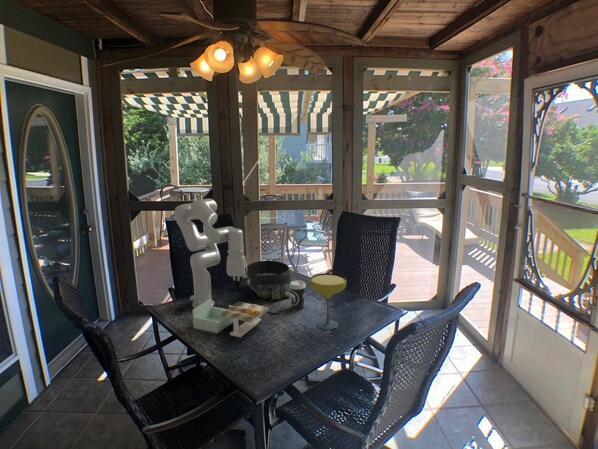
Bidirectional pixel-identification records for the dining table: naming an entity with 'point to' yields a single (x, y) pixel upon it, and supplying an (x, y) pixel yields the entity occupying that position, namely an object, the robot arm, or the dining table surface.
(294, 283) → the coffee cup
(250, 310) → the orange ball
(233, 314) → the beige flat panel
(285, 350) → the dining table surface
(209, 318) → the bin
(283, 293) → the basket
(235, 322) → the stand
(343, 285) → the cocktail glass
